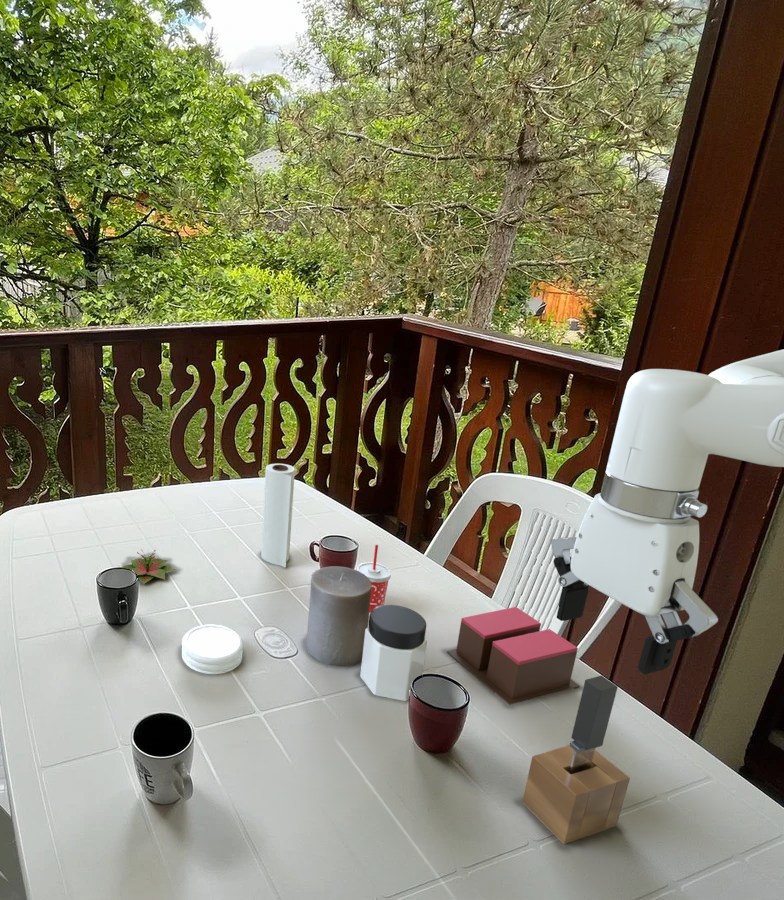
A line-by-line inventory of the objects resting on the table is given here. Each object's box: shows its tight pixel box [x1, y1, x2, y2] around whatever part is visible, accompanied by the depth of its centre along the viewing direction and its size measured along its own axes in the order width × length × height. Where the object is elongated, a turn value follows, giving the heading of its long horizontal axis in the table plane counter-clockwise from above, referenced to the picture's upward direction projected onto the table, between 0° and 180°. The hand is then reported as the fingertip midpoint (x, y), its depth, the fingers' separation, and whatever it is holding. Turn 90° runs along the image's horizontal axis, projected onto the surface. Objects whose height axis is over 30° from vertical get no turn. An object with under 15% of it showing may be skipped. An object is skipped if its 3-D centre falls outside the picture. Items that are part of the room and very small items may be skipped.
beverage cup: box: [356, 544, 392, 617], centre depth 116 cm, size 6×6×14 cm
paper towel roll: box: [260, 463, 296, 568], centre depth 134 cm, size 7×6×21 cm
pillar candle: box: [306, 565, 372, 667], centre depth 105 cm, size 10×10×15 cm
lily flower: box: [120, 548, 177, 585], centre depth 132 cm, size 12×12×5 cm
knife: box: [569, 675, 618, 774], centre depth 73 cm, size 4×2×19 cm, turn 108°
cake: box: [446, 606, 581, 705], centre depth 101 cm, size 14×14×8 cm
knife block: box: [522, 744, 631, 845], centre depth 75 cm, size 8×6×8 cm
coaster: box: [181, 624, 244, 675], centre depth 104 cm, size 10×10×4 cm
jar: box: [359, 604, 428, 702], centre depth 97 cm, size 9×8×12 cm
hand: (607, 642), depth 68 cm, fingers open, 9 cm apart
